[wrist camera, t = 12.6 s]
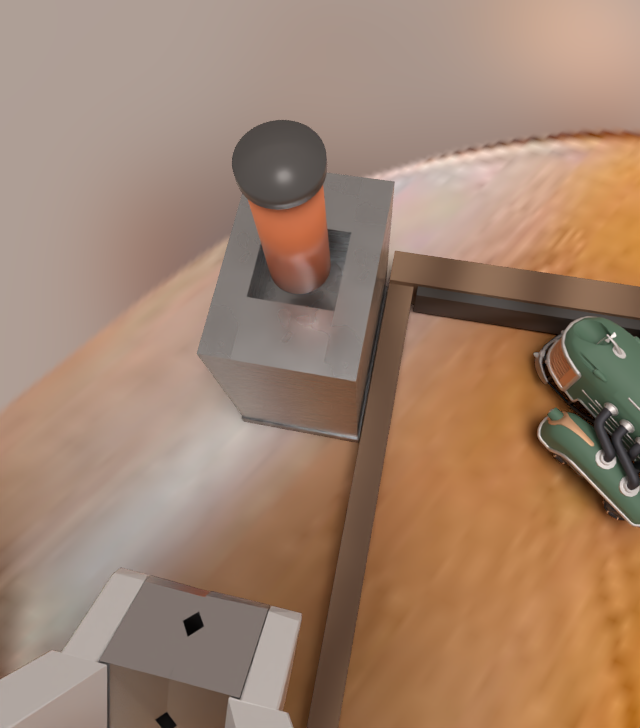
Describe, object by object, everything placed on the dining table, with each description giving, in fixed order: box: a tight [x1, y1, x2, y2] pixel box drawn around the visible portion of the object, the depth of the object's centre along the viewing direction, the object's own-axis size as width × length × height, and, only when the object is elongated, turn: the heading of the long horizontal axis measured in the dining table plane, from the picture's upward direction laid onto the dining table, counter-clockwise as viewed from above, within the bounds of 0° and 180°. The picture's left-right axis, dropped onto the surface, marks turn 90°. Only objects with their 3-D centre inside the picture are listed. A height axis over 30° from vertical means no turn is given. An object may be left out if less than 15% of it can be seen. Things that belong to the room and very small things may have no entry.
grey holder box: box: [197, 173, 395, 443], centre depth 33 cm, size 7×10×12 cm
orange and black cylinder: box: [232, 120, 331, 294], centre depth 24 cm, size 3×3×8 cm
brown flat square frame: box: [307, 251, 640, 728], centre depth 32 cm, size 30×32×3 cm
